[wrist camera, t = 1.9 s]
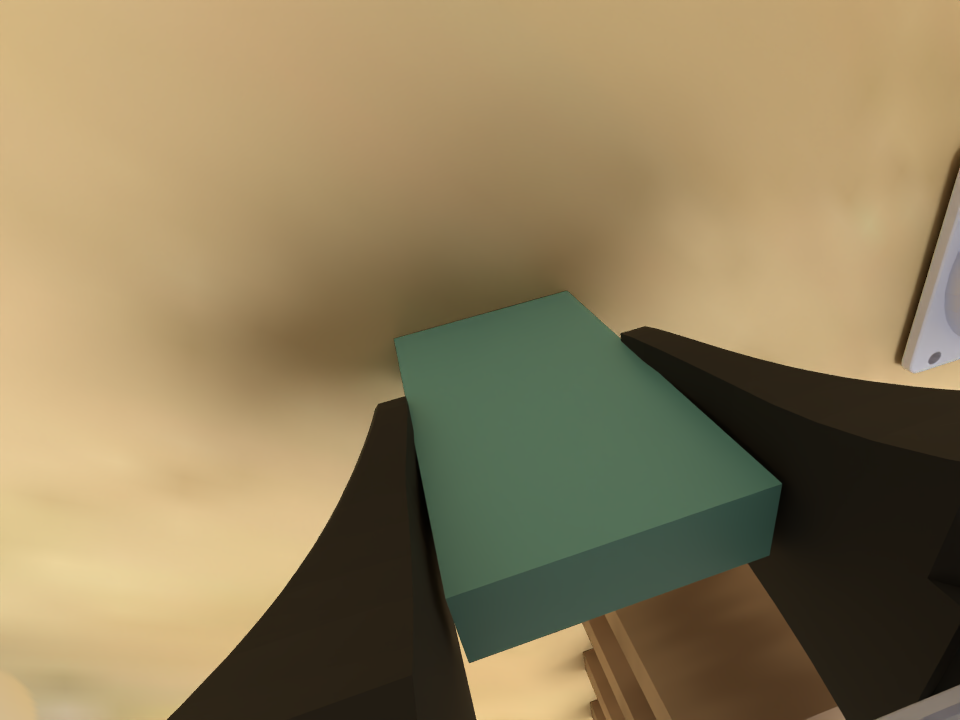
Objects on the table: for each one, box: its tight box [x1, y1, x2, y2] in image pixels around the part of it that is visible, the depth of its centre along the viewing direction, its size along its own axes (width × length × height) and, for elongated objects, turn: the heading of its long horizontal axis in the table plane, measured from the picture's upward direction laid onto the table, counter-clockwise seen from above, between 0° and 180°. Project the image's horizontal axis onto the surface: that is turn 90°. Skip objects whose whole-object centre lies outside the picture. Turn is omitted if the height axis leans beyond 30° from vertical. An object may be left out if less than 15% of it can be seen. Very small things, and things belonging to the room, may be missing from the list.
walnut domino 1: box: [582, 615, 657, 720], centre depth 18 cm, size 5×2×8 cm, turn 101°
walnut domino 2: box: [605, 563, 846, 720], centre depth 15 cm, size 5×2×8 cm, turn 101°
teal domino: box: [394, 291, 782, 663], centre depth 11 cm, size 5×2×8 cm, turn 101°
